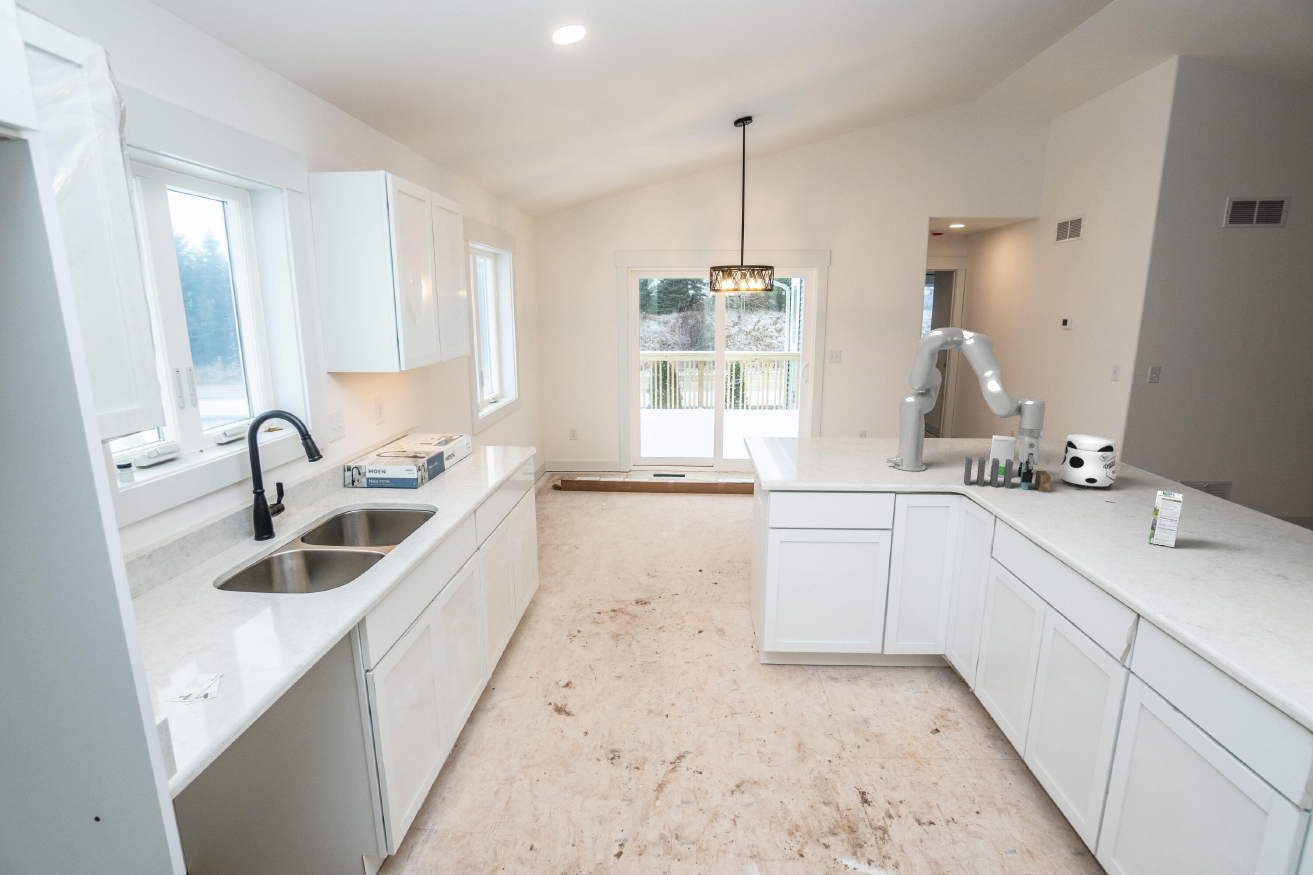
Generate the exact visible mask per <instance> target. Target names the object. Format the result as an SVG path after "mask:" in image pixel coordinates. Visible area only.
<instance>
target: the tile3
mask: <svg viewBox="0 0 1313 875" xmlns="http://www.w3.org/2000/svg"><path fill="white" fill-rule="evenodd" d="M999 463H1000V461H999V460H998V459H997V458H993V460H992V469H991V476H990V481H989V485H990V486H991V488H996V489H997V488H998V480H999V477H998V473H999Z"/></svg>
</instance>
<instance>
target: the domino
mask: <svg viewBox="0 0 1313 875" xmlns="http://www.w3.org/2000/svg"><path fill="white" fill-rule="evenodd" d="M1026 463H1029V462H1026ZM1026 468H1027V466H1026ZM1023 472H1024V464H1023V463H1022V472H1021V477H1020V483H1019V486H1020V488H1021V490H1023V491H1024V490H1026V491H1028V490H1029V483H1023V482H1022V474H1023Z"/></svg>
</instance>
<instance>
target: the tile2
mask: <svg viewBox="0 0 1313 875" xmlns="http://www.w3.org/2000/svg"><path fill="white" fill-rule="evenodd" d="M986 463H987V461H986V459H985V457H981V456H980V457H978V464H977V465H978V466H977V475H976V484H977V486H978V487H984V482H985V473H986V472H985V471H986V470H985V469H986Z"/></svg>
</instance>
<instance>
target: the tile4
mask: <svg viewBox="0 0 1313 875" xmlns="http://www.w3.org/2000/svg"><path fill="white" fill-rule="evenodd" d="M1013 468H1014V460H1013V461H1012V460H1011V459H1006V463H1005V473H1004V477H1003V482H1002V483H1003V484H1002V485H1003V486H1004V488H1005V489H1011V488H1012V479H1013V478H1012V476H1013Z"/></svg>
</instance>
